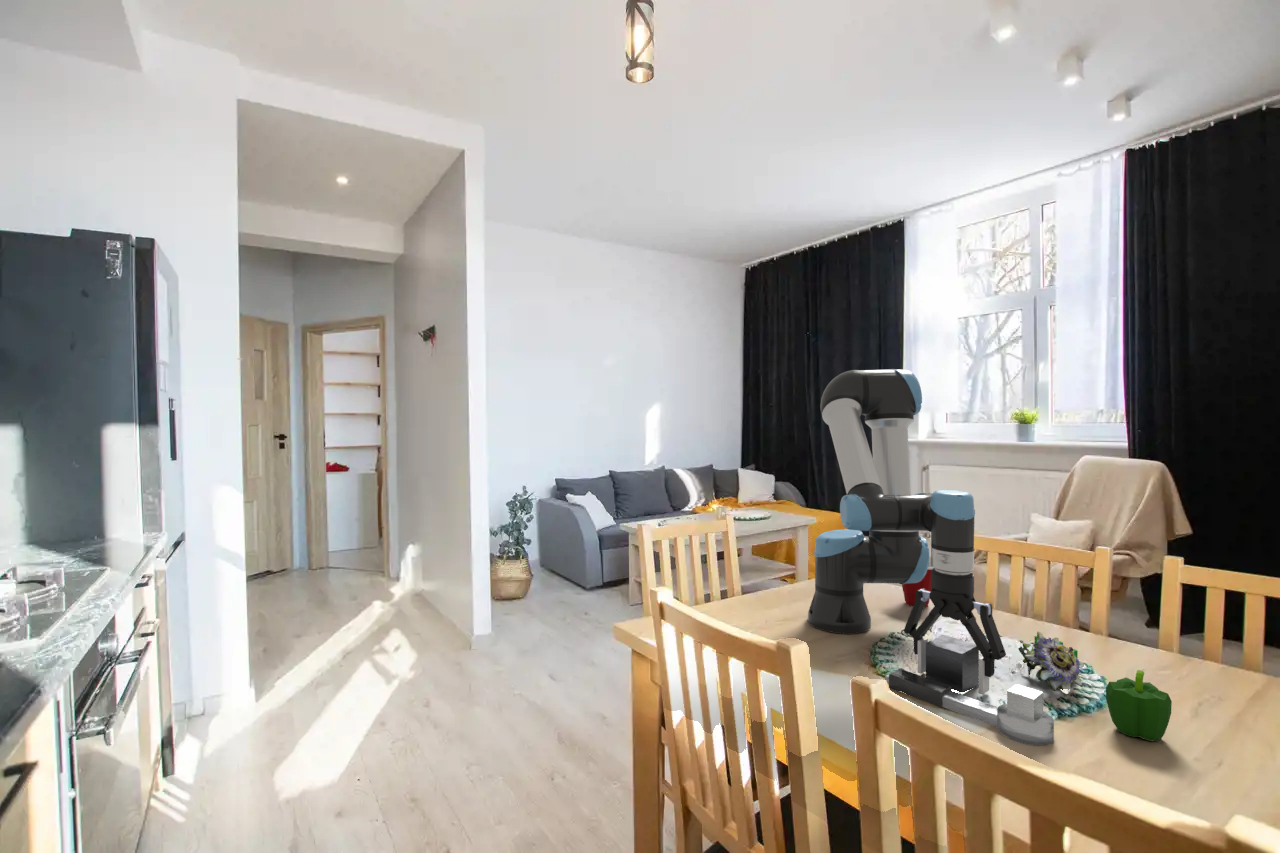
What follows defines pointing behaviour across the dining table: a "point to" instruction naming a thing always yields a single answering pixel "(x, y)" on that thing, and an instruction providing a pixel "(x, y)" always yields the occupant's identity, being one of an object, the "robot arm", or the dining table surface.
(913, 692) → the ratchet
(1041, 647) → the passion flower
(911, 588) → the plastic cup
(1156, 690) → the bell pepper
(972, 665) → the dark grey cube
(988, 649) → the robot arm
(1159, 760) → the dining table surface
